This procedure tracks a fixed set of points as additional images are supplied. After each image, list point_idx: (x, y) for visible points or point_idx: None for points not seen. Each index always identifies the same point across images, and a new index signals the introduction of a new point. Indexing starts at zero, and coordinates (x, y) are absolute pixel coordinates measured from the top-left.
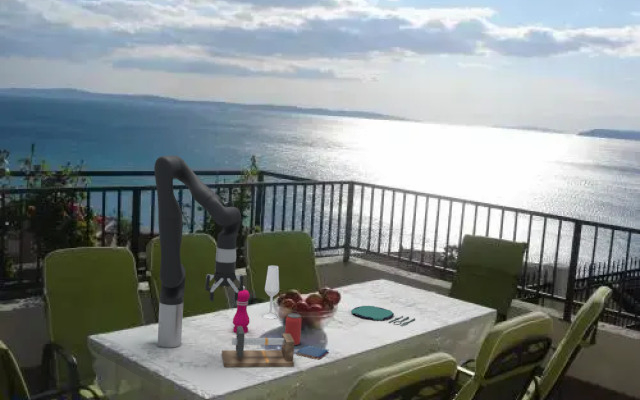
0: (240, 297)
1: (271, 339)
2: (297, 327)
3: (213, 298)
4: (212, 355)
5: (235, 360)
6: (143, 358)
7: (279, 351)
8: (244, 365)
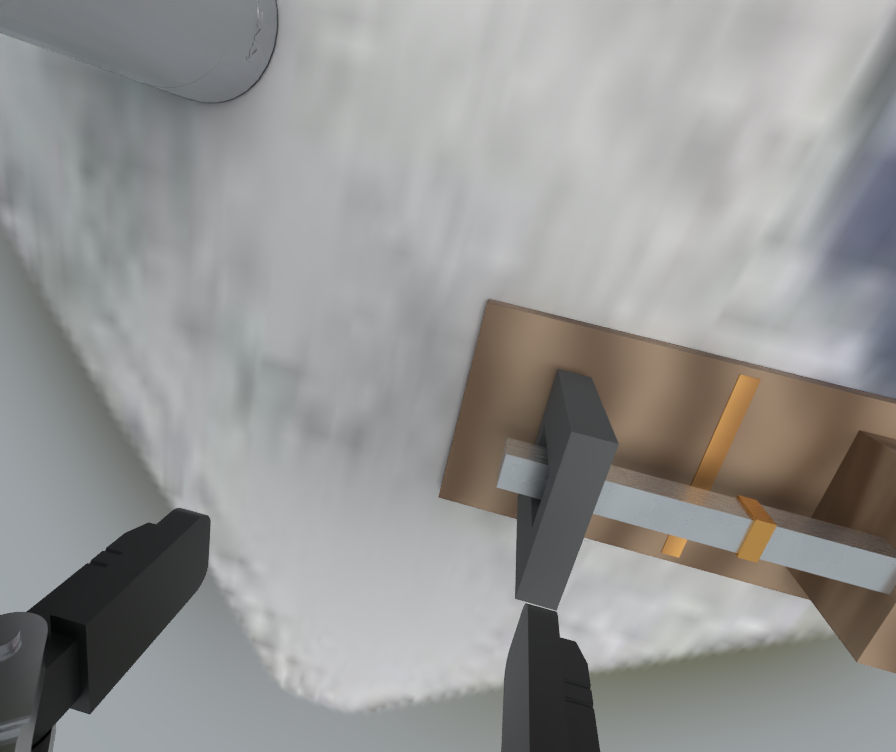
0: None
1: (786, 562)
2: None
3: (168, 621)
4: (428, 303)
5: None
6: (65, 254)
7: (853, 417)
8: None
